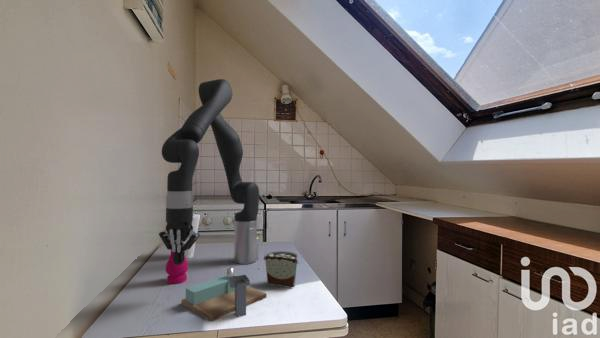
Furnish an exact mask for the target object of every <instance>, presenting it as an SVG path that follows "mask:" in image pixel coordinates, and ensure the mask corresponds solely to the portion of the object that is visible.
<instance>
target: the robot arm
mask: <svg viewBox="0 0 600 338" xmlns="http://www.w3.org/2000/svg"><path fill="white" fill-rule="evenodd" d="M198 96H199V100H200V102H201V104H202V105H201V106H200V107H198V108H197V109H195V110H194V111H193V112H192V113H191V114H190V115H189V116H188V117H187V119H186V120H185V121H184V123H183V124H182V126H181V127H180V128H179V129H178V130H176V131H175V132H174V133H172V134H171V135H170V136H169V137H168V138H167V139H166V140H165V141H164V143H163V144H162V148H161V156H162V158H163V159H164V160H165V161H166V162H167V163H171V164H180V165H179V168H178V169H176V170H173V171H170V172H169V173H168V175H167V181H166V183H167V184H166V191H167V192H166V196H165V197H166V198H165V222H166V225H165V229H164V230H163V231H161V232H159V233H158V236H159V238H160V240H161V241H162V243H163V244H164V245H165V247H166V249H167V250H168V251H169V250H170V251H171V250H172V251H173V262H174V264H175V265H181V264H183V262H184V255H185V250H188V249H190V248H191V247H192V246H193V244H194V243H195V244H196V242H197V240H198V239H199V238H200V236H201V235H200V233H198V232H197V233H195V232H194V231H193V226H192V220H193V214H194V194H193V183H194V182H193V179H194V178H193V177H194V175H195V171H196V170H195V169H196V168H197V167H196V166H197V163H198V161H199V156H200V148H199V145H198V144H199V143H200V142H201V140H203V138H204V136H205V135H206V133H207V130H208V129H209V127H211V130H212V133H213V136H214V139H215V143H216V146H217V150H218V152H219V156H220V158H221V161H222V164H223V168H224V171H225V175H226V179H227V185H228V190H229V194H230V197H231V200H232V201H233V202H234V203H235V204H240V205H241V204H242V205H243V208H242V210H241V211H238V212H236V213H234V245H233V246H234V248H233V249H234V255H233V256H234V257H233V260H234V263H235V264H238V265H247V264H254V263H256V262H257V261H258V260H259V237H258V236H257V235H258V234H257V232H258V231H257V230H258V227H257V226H258V225H257V223H258V214H259V206H260V205H259V202H260V189H259V186H258V185H257V183H256V182H252V181H251V182H250V181H243V180H242V177H241V173H240V167H241V163H242V161H243V157H244V149H243V146H242V142H241V139H240V135H239V134H238V132H237V131H236V130H235V129H234V128H233V127H232V126H231V125H230V124H229V123H228V122H227V121H226V120H225V118H224V117H223V116H222V113H221V112H222V111H223V110H224V109H225V108H226V107H227V106H228V105H229V104H230V103H231V101H232V98H233V88H232V86H231V84H230V83H229V81H228V80H226V79H225V78H224V79H223V78H220V79H213V80H208V81H203V82H201V83H200V84H199V86H198ZM188 236H189V240H188V241H187V238H188ZM195 241H196V242H195Z"/></svg>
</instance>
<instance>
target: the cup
mask: <svg viewBox="0 0 600 338" xmlns="http://www.w3.org/2000/svg"><path fill="white" fill-rule="evenodd" d="M200 218H201V214H199V213H198V214H197V213H196V214H195V213H193V220H192V226H193V231H194V232H195V233H198V231H199V226H200V220H201V219H200ZM188 240H189V236H188V238H187V241H188ZM196 242H197V240H196V241H195V243H194V244H193V246H192V247H191V248H190V249H188V250H185V258H186V259H191V258H193V257H194V252H195V249H196Z"/></svg>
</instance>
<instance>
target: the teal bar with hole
mask: <svg viewBox="0 0 600 338" xmlns="http://www.w3.org/2000/svg"><path fill="white" fill-rule="evenodd" d="M233 276H239V275H237V274H235V273H233ZM234 291H235V287H234V288H231V287H230V285H229V283H228V280H227V274H226V275H222V276H219V277H217V278H213V279H211V280H208V281H205V282H201V283H199V284H195V285H191V286H189V287H185V298H186V301H187V302H189V303H191V304H192V305H196V304H199V303H202V302H205V301H207V300H210V299H213V298H215V297H218V296H221V295H224V294H226V293H231V292H234Z"/></svg>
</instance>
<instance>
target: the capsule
mask: <svg viewBox="0 0 600 338" xmlns="http://www.w3.org/2000/svg"><path fill="white" fill-rule="evenodd" d="M233 274H234V267H227V268H226V275H227V280H228V277H233Z"/></svg>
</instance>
